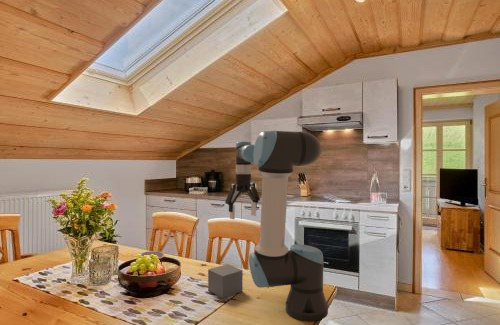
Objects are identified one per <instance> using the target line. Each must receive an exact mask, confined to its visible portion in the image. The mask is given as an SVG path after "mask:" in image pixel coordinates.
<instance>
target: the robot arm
mask: <svg viewBox="0 0 500 325" xmlns="http://www.w3.org/2000/svg"><path fill="white" fill-rule="evenodd" d="M234 150H235V173H236V174H235V182H236V183H231V184H230V189H229V192H228V194H227V197H226V199H225V202H224V203H225V205H228V212H229V219H231V220H236V219H235V212H236V211H235V210H236V209H235V208H236V207H235V206H236V205H234V204H235V202H236V200H237V199H238V198H239V196H240V194H241V195H242V194H243V193H245V194H247V195H248V197H249V198H250V200H251V202H250V203H251V204H250V205H251V206H250V212H251V213H250V215H251V216H253V217H256V216H257V208H258V206H257V205H258V203H259V202H260V201H261V205H260V206H261V207H260V225H259V226H260V228H259V231H260V232H259V242H258V243H257V244H256V245H255V246H254V252H251V253H250V254H249V256H248V265H249V270H250V274H251V278H252V281H253V283H254V285H255V286H256V287H257V288H259V289H261V288H268V289H269V288H274V287H275V288H276V287H282V286H284V287H285V286H290V289H289V292H288V295H287V298H286V300H285V312H286V313H287V314H288V315H289V316H290V317H291V318H294V319H296V320H299V321H306V322H316V321H320V320H323V319H325V318H327V317H328V314H329V306H328V303H327V300H326V296H325V293H324V254H323V252H322V251H321V249H320V248H317V247H314V246H311V245H309V244H308V245H307V244H302V243H301V244H300V243H299V244H297V243H296V244H295V243H294V244H292V245H290V248H288V246H286V244H285V238H286V237H285V236H286V222H287V220H286V219H287V205H288V204H287V203H288V186H289V185H288V184H289V183H288V182H289V177H290V176H291V175H292V174H294V167H303V166H305V167H306V166H308V165H312V164H313V163H315V162H317V161H318V159H319V158H320V157H321V154H322V145H321V142H320V140H319V139H318V138H317V137H316V136H315V135H313V134H312V133H309V132H306V131H291V130H290V131H289V130H266V131H265V130H264V131H262V132H260V133H259V134H258V135H257V138H256V140H255V142H254V144H252V143H251V142H250V141H237V142H235V149H234ZM252 162H253V164H254V166H256V167H258V170H257V171H258V172H259V173H260V174H261V176H262V182H261V185H262V186H261V198H260V196H259V193H258V190H257V187H256V183H255V182H251V181H252V174H251V173H252ZM289 249H290V250H289Z"/></svg>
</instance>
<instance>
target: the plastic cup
mask: <svg viewBox="0 0 500 325" xmlns="http://www.w3.org/2000/svg"><path fill="white" fill-rule="evenodd" d="M151 254H154V255H157V256H158V257H159V260H160V262H161V265H162V264H163V263H162V262H163V259H164V257H165V255H166V254H165V253H164V252H162V251H158V250H150V251H149V250H148V251H144V252H141V253H140V254H139V257H140V256H144V255H151Z"/></svg>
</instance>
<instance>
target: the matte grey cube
mask: <svg viewBox="0 0 500 325" xmlns="http://www.w3.org/2000/svg"><path fill="white" fill-rule="evenodd" d="M207 269H208V268H207ZM207 272H208V273H207V274H208V275H207V277H208V278H207V280H208V283H207V286H208V287H207V290H208V291H209V292H210V293H213V294H214V295H215V296H218V297H219V298H221V299H225V298H227V297H231V296H233V295H237V294H239V293H243V274H244V273H243V272H244V271H243V269H240V268H238V267H235V266H233V265H231V264H229V263H226V264H223V265H220V266H215V267H212V268H209V269H208V270H207Z"/></svg>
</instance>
